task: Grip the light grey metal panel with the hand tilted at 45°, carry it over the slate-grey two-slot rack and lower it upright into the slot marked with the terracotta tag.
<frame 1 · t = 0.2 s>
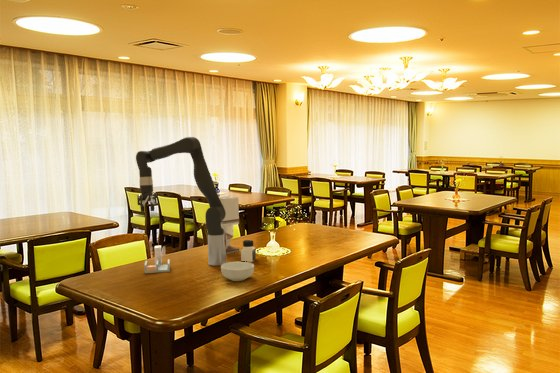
hand: (147, 211, 270), 29 cm above the table, tool pointing down, fingers open, 8 cm apart
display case: (227, 252, 289), on the table
cereal bowl: (237, 279, 230), on the table
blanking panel: (158, 263, 261), on the table
slot rack: (157, 269, 249), on the table
medicine bottle: (248, 260, 267), on the table
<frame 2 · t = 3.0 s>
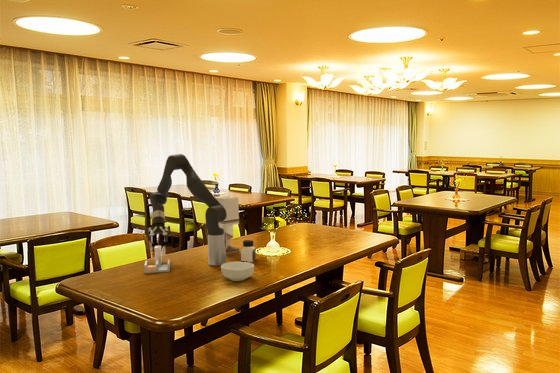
hand: (158, 241, 268), 11 cm above the table, tool tilted 45°, fingers open, 8 cm apart
nothing on the table moved.
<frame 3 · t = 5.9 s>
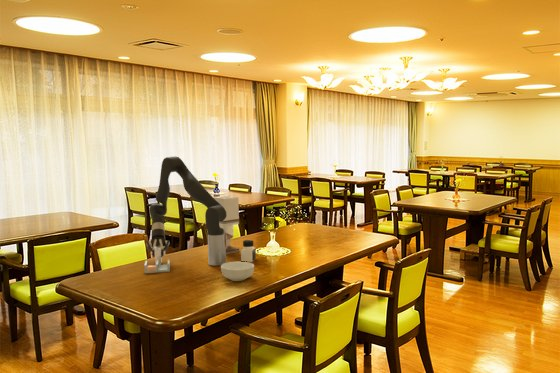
hand: (158, 256, 260), 5 cm above the table, tool tilted 45°, fingers closed on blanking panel, 3 cm apart
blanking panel: (158, 263, 261), on the table, touching gripper
everything else where it was.
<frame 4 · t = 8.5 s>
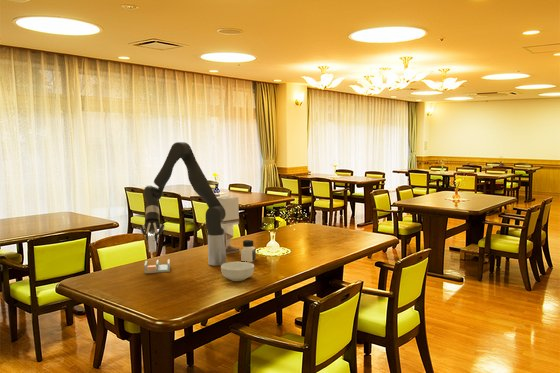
hand: (151, 240, 247), 16 cm above the table, tool tilted 45°, fingers closed on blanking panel, 3 cm apart
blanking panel: (152, 249, 250), point 11 cm above the table, tilted 13°, touching gripper
everything else where it was.
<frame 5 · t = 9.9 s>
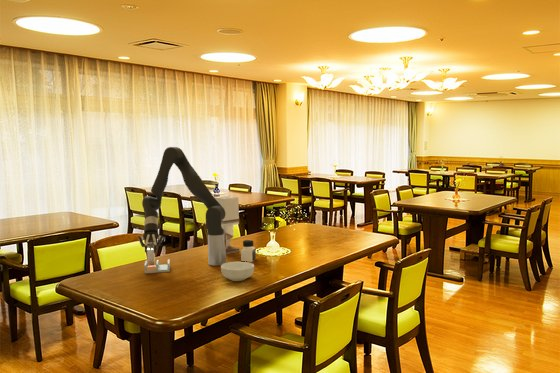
hand: (150, 252, 245), 10 cm above the table, tool tilted 45°, fingers closed on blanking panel, 3 cm apart
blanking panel: (151, 262, 248), point 4 cm above the table, tilted 16°, touching gripper
everything else where it was.
when the fingers open (9 cm above the table, at t = 11.1 s): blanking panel moves 1 cm, resting on slot rack.
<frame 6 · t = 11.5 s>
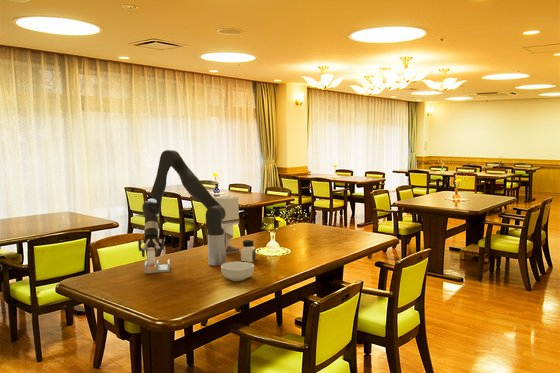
hand: (151, 256, 245), 8 cm above the table, tool tilted 45°, fingers open, 7 cm apart
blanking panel: (151, 267, 249), point 1 cm above the table, touching slot rack
everything else where it was.
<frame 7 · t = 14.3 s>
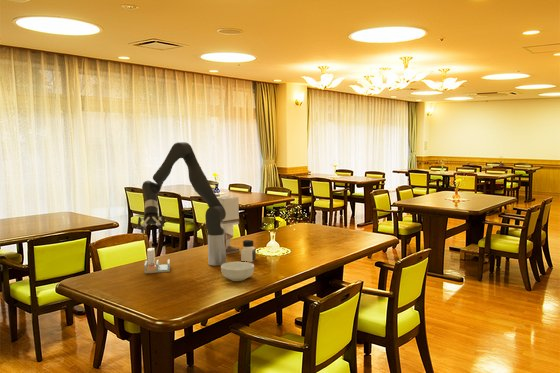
hand: (151, 232, 251), 20 cm above the table, tool tilted 45°, fingers open, 8 cm apart
nothing on the table moved.
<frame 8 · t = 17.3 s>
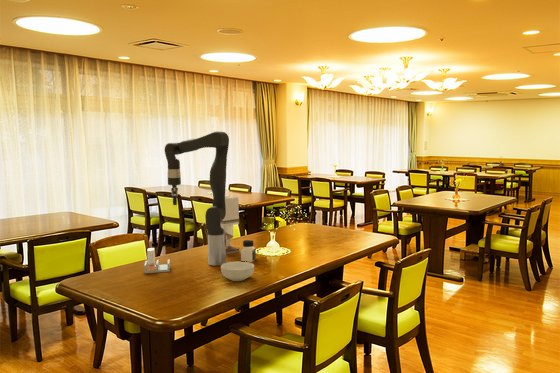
hand: (174, 204, 269), 33 cm above the table, tool pointing down, fingers open, 8 cm apart
nothing on the table moved.
at the end: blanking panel 1.0 cm from the target spot on the slot rack, point 1.3 cm above the slot rack's base; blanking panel tilted 0°; the gripper is holding nothing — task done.
